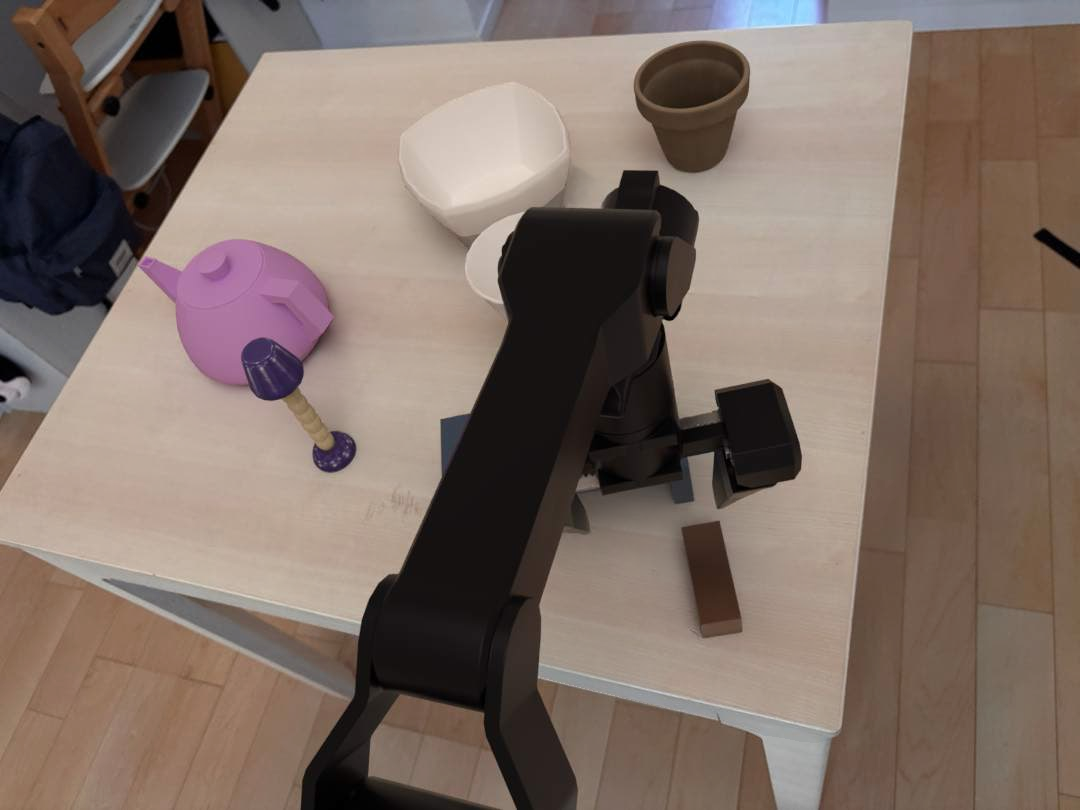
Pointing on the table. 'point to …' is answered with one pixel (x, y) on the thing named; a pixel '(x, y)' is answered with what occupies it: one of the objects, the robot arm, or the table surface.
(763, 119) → the table surface
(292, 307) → the teapot
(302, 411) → the toy lamp
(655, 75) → the flower pot
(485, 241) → the cup
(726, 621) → the block
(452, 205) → the bowl
